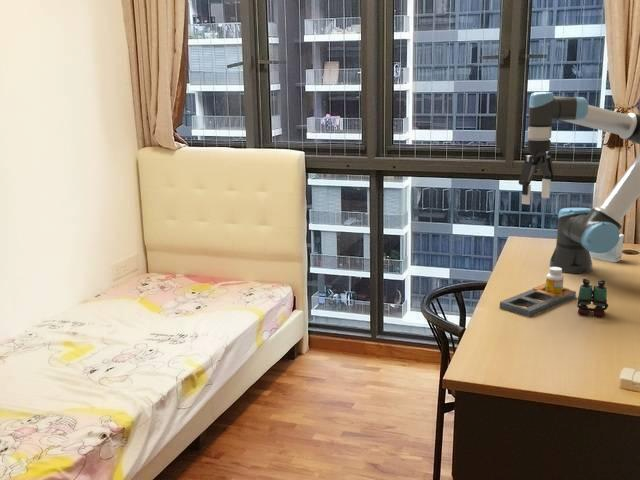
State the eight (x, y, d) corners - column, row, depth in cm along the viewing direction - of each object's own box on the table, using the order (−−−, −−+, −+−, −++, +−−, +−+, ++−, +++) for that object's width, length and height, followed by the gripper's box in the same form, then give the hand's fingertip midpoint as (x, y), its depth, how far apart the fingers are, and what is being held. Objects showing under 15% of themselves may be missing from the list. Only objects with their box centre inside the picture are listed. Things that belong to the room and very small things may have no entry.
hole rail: (545, 289, 231) (546, 282, 231) (575, 297, 223) (576, 290, 223) (499, 307, 214) (499, 300, 214) (529, 317, 206) (530, 310, 206)
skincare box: (588, 257, 268) (591, 232, 265) (596, 254, 272) (598, 229, 270) (614, 263, 261) (617, 237, 258) (621, 259, 265) (624, 234, 262)
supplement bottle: (542, 293, 227) (544, 266, 225) (557, 293, 227) (560, 265, 225) (548, 299, 222) (551, 271, 219) (564, 298, 222) (567, 270, 220)
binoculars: (579, 288, 202) (578, 275, 211) (576, 320, 206) (575, 306, 215) (611, 291, 199) (609, 278, 208) (607, 323, 203) (606, 309, 212)
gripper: (546, 134, 237) (543, 193, 243) (509, 142, 221) (506, 205, 226) (567, 136, 232) (563, 196, 238) (530, 143, 215) (527, 208, 221)
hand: (535, 200), depth 232 cm, fingers open, 13 cm apart
